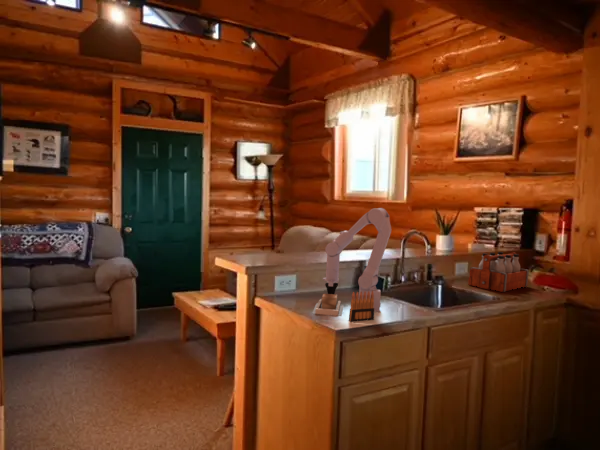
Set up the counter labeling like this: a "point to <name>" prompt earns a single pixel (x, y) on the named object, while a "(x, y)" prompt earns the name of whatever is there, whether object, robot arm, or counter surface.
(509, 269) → the milk bottle holder
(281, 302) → the counter surface
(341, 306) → the bay
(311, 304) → the counter surface
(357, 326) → the counter surface
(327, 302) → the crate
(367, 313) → the ammunition clip
